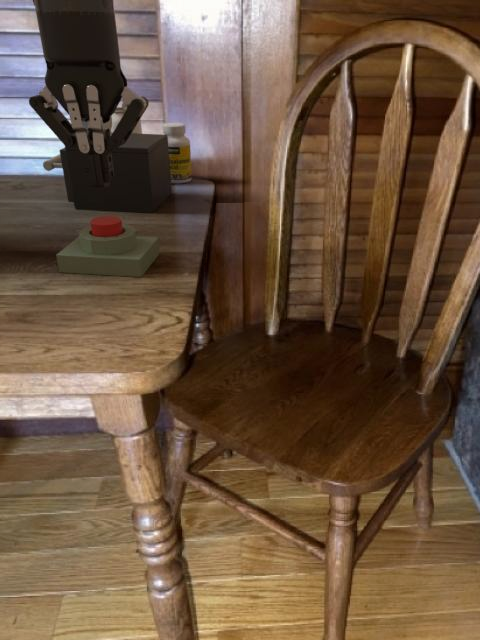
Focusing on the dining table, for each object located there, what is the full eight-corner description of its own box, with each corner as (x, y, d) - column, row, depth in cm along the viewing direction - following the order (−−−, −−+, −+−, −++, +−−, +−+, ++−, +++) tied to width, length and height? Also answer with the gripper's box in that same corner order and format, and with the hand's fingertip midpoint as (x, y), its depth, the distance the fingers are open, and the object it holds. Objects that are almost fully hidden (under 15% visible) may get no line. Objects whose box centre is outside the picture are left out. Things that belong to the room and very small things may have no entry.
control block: (59, 272, 68) (53, 240, 66) (84, 249, 75) (79, 219, 72) (141, 277, 67) (137, 244, 65) (159, 253, 74) (157, 223, 72)
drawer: (42, 200, 90) (32, 148, 86) (69, 184, 99) (61, 136, 95) (139, 205, 89) (134, 153, 85) (157, 188, 98) (153, 140, 94)
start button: (87, 238, 68) (85, 224, 67) (98, 229, 71) (96, 215, 70) (117, 240, 67) (115, 225, 66) (127, 230, 70) (125, 216, 69)
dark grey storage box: (75, 209, 90) (64, 144, 85) (101, 190, 99) (92, 131, 94) (153, 213, 89) (147, 148, 84) (172, 193, 99) (167, 134, 94)
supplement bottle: (166, 185, 103) (162, 127, 98) (159, 178, 108) (155, 122, 102) (195, 183, 105) (192, 126, 100) (187, 176, 110) (184, 121, 104)
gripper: (151, 9, 59) (166, 180, 68) (29, 7, 60) (60, 176, 69) (128, 8, 53) (148, 197, 62) (-9, 6, 54) (31, 192, 63)
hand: (101, 185), depth 66 cm, fingers closed
